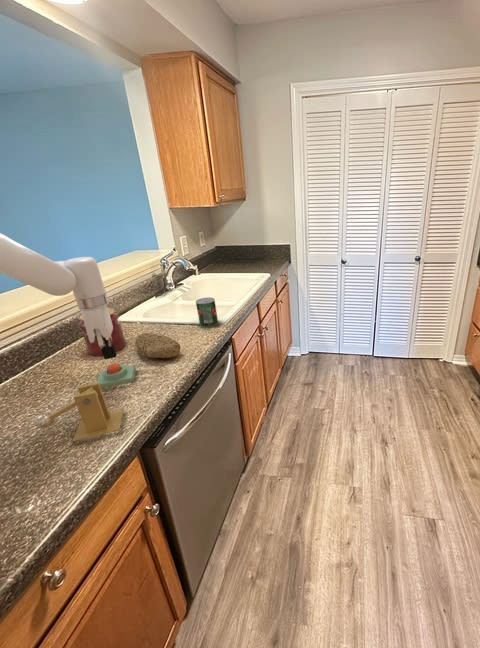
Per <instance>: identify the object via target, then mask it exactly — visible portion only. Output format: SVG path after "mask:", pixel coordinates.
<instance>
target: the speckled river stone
mask: <svg viewBox="0 0 480 648" xmlns="http://www.w3.org/2000/svg"><path fill="white" fill-rule="evenodd" d="M134 344H135V347H136V349H137V351H138V353H139V354H140V355H142V356H143V357H145V358H146V357H147V358H151V359H169V358H175V357H176V356H178V355H179V354H180V353H181V348H182V347H181V345H180V343H179V342H178V341H177V340H176V339H173V338H171V337H169V336H166V335H161V334H159V333H156V332H143V333H140V334H139V335H137V336H136V338H135V341H134Z"/></svg>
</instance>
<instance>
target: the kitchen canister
mask: <svg viewBox="0 0 480 648" xmlns="http://www.w3.org/2000/svg"><path fill="white" fill-rule="evenodd" d="M107 309H108V312H109V315H110V318H111V321H112V325H113V331H112V334H111V337H112V341H113V343H112V344H114V347H115V350H116V352H118V351H119V350H121V349H123V348H124V347H125V346H126V337H125V335H124V332H123V329H122V323H121V322H120V321H119V317H120V316H119V315H118V314H117V313H116V312H115V309H113V308H110V307H108V306H107ZM79 320H80V321H78V326H79V327H80V328H81V334H82V336H83V339H84V341H85V345H86V350H87V351H88V353H89V354H90V355H92V356H103V353H102V350H101V348H100V347H99V344H98V340H97V337H96V339H95V341H94V343H91V342H90V341H89V338H88V334H87V331H86V327H85V323H84V319H83V314H82V313H81V315H80V316H79Z"/></svg>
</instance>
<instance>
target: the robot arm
mask: <svg viewBox="0 0 480 648" xmlns="http://www.w3.org/2000/svg"><path fill="white" fill-rule="evenodd" d="M0 274H3V275H5V276H7V277H10V278H12V279H14V280H17V281H18V282H21V283H24V284H26V285H28V286H30V287H32V288H34V289H37V290H40V291H41V292H44V293H46V294H48V295H50V296H54V297H55V296H56V297H63V296H67V295H68V294H70V293H73V296H74V299H75V302H76V305H77V307H78V310H79V311H81V315H82V314H83V319H84V323H85V327H86V331H87V334H88V338H89V341H90V342H91V343H94V341H95V339H96V337H97V340H98V344H99V347H100V348H101V350H102V353H103V355H102V356H103V359H104V360H110V359H114V358H116V357H117V351H116V350H115V347H114V344H112V343H113V341H112V337H111V334H112V331H113V325H112V321H111V318H110V315H109V312H108V309H107V307H108V306H107V305H109V304H110V301H109V298H108V295H107V292H106V289H105V285H104V282H103V280H102V275H101V272H100V269H99V266H98V262H97V260H96V259H95V258H94V257H92V256H77V257H73V258H69V259H66V260H57V261H54V260H52V259H50V258H48V257H47V256H45V255H43V254H41V253H39V252H36V251H35V250H33V249H30V248H29V247H27V246H25V245H23V244H21V243H19V242H17V241H15V240H13V239H12V238H10V237H8V236H7V235H5V234H3V233H1V232H0Z"/></svg>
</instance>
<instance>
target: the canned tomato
mask: <svg viewBox="0 0 480 648" xmlns="http://www.w3.org/2000/svg"><path fill="white" fill-rule="evenodd" d="M195 306H196V311H197V316H198V322H199V326H200V327H201V328H213V327H216V326H218V324H219V319H218V318H219V317H218V312H217V306H216V301H215V298H214V297H201V298H199V299H197V300H195Z"/></svg>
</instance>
